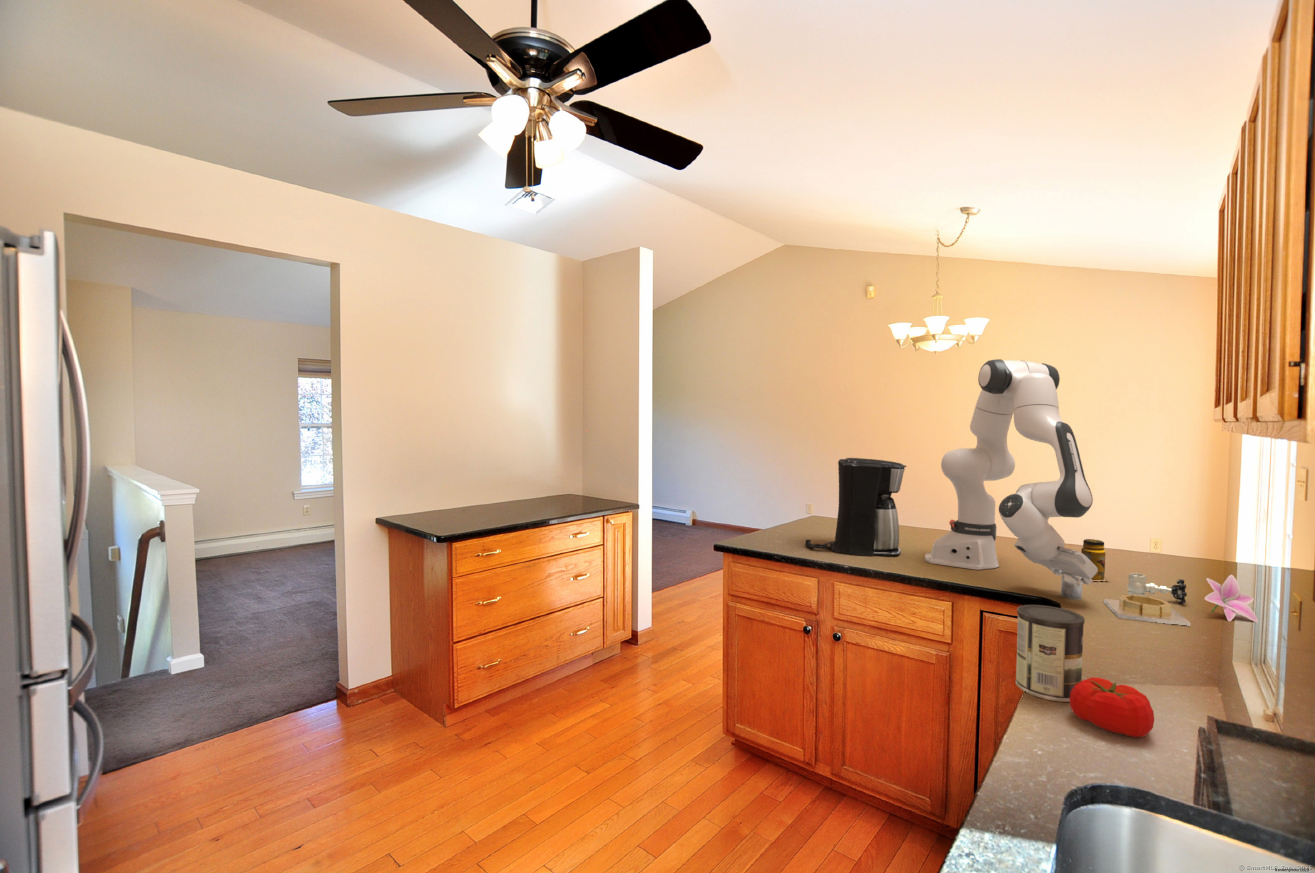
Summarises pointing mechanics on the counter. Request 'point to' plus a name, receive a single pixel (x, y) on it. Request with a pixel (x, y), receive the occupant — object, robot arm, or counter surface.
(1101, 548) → the condiment
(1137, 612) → the flange
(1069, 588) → the black-capped jar
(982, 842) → the counter surface
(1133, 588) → the valve
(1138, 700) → the tomato
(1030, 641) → the coffee can
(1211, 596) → the lily
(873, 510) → the coffee maker
